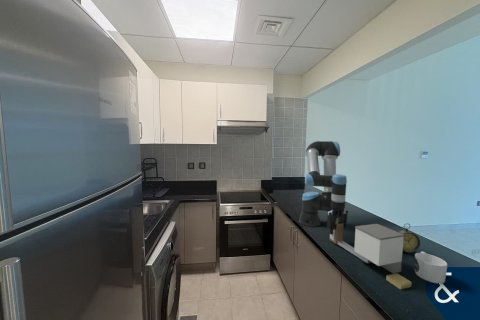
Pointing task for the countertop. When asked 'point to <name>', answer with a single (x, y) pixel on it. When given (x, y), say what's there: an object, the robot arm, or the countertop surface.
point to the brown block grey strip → (339, 240)
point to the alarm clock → (410, 240)
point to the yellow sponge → (398, 281)
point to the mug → (430, 267)
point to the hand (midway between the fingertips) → (336, 238)
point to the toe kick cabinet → (380, 246)
